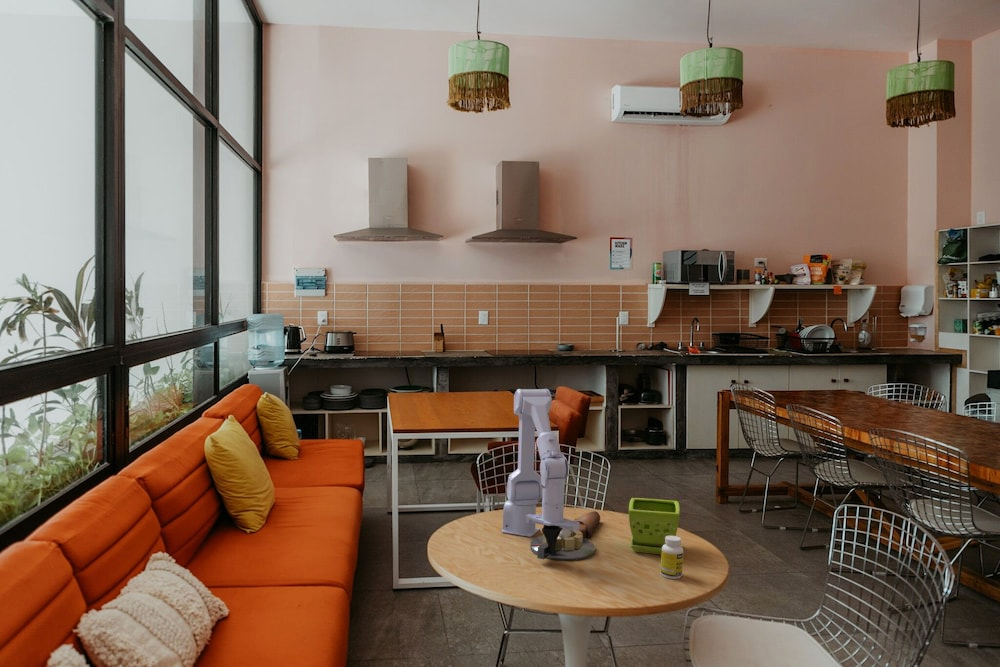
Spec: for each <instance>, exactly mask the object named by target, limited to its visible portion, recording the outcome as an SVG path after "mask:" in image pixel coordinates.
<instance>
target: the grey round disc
mask: <svg viewBox="0 0 1000 667" xmlns="http://www.w3.org/2000/svg"><path fill="white" fill-rule="evenodd" d="M558 537H561V538H562V549H560V550H556V551H555V552H554V553H553V554H551V555H549V556H548V557H546V558H545V559H549V560H554V561H563V562H564V561H566V562H567V561H568V562H570V561H571V562H574V561H582V560H586V559H589V558H591V557H592V556H593V555H594V554H595V551H596V547H595V546H596V545H595V544H594V543H593V541H590V540H589V539H584V538H583V543H582V547H580V548H579V549H576V548H575V549H574V550H568V551H565V550H564V549H563V538H566V537H571V530H569V529H565V528H562V530H561V532H560V534H559V536H558ZM529 545H530V546H529V548H530V551H531V552H532V553H533V554H535V555H538V547H540V546H541V545H543V535H539V536H537V537H535V538H532V540H530V543H529Z"/></svg>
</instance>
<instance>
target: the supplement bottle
mask: <svg viewBox="0 0 1000 667" xmlns="http://www.w3.org/2000/svg"><path fill="white" fill-rule="evenodd" d="M665 543H666V544H665V545H663V546H662V554H660V555H661V557H660V558H661V559H660V575H661V576H662V577H664V578H665V579H672V580H676V579H677V578H678V579H681V578H682V577H681V576H683V564H684V548H683V547H682V546H681V545H682V538H681V537H680V536H677V535H676V536H666V537H665ZM680 577H681V578H680ZM678 579H677V580H678Z"/></svg>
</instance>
